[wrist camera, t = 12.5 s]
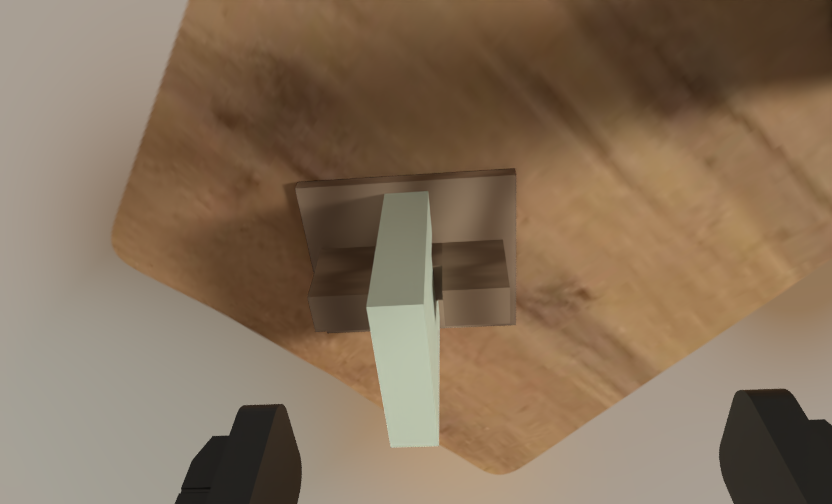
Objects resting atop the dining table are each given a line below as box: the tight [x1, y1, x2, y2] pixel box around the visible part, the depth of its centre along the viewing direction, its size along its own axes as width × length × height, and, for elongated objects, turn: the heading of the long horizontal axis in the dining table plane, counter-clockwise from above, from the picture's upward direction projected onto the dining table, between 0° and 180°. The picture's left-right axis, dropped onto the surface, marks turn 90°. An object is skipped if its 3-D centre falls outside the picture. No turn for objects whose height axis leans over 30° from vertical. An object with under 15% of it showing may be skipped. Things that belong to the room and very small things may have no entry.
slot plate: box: [295, 169, 516, 333], centre depth 47 cm, size 16×14×7 cm
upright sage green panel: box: [366, 191, 440, 447], centre depth 43 cm, size 3×12×13 cm, turn 5°
